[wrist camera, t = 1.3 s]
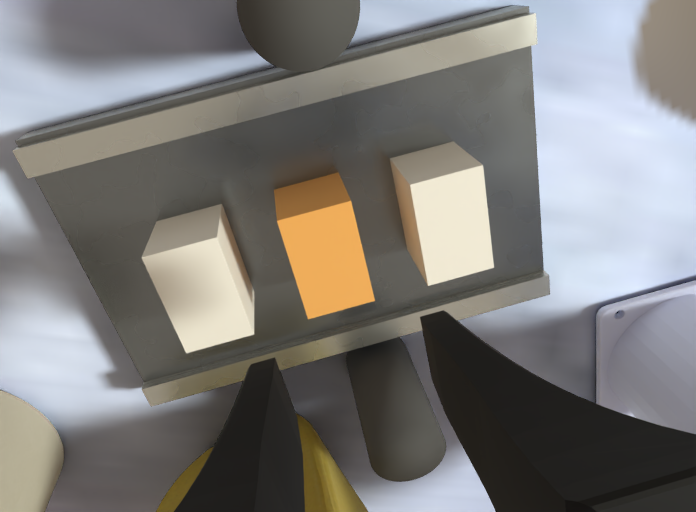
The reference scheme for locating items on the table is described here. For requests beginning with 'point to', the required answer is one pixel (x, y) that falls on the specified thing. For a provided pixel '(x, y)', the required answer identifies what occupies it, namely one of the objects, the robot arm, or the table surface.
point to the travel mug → (27, 456)
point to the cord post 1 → (299, 30)
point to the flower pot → (319, 478)
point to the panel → (295, 167)
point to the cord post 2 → (394, 412)
